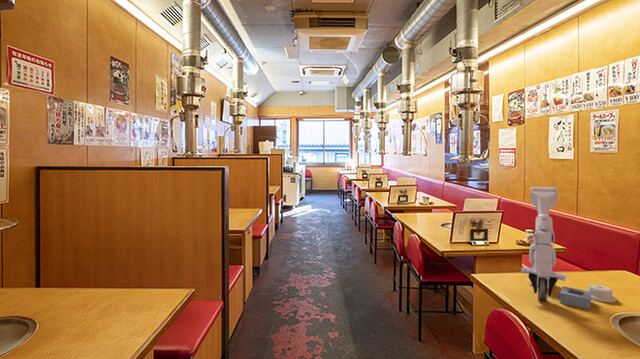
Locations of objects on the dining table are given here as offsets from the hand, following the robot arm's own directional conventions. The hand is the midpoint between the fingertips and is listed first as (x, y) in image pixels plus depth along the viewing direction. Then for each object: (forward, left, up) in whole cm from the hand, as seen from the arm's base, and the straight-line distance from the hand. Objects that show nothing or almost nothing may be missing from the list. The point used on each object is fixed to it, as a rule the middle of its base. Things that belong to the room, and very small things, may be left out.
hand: (542, 294), depth 130 cm
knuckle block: (-6, +10, -2) cm, 12 cm away
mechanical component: (-18, +17, -3) cm, 25 cm away
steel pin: (0, 0, -2) cm, 2 cm away
